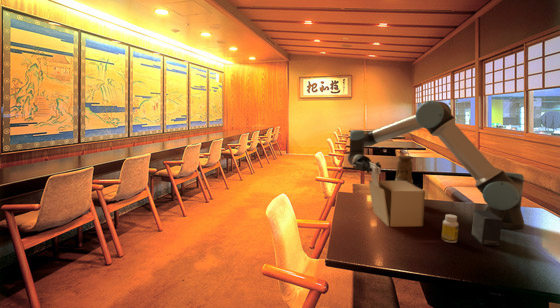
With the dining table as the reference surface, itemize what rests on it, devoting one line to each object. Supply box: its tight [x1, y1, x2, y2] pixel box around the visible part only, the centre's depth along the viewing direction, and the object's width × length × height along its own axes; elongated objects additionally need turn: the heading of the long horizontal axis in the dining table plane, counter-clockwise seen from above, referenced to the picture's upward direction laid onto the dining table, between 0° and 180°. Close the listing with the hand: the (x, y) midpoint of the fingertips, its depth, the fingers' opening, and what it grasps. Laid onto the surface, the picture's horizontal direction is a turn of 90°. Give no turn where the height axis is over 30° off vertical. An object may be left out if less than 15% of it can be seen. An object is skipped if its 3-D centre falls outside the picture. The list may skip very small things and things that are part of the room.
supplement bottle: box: [441, 213, 460, 244], centre depth 123 cm, size 5×5×10 cm
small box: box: [470, 209, 502, 247], centre depth 123 cm, size 11×6×10 cm, turn 169°
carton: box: [379, 180, 426, 228], centre depth 145 cm, size 14×20×16 cm
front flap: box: [368, 161, 390, 227], centre depth 144 cm, size 1×20×26 cm, turn 0°
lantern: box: [394, 147, 414, 184], centre depth 172 cm, size 15×10×30 cm
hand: (377, 171), depth 137 cm, fingers closed, pressing on front flap
